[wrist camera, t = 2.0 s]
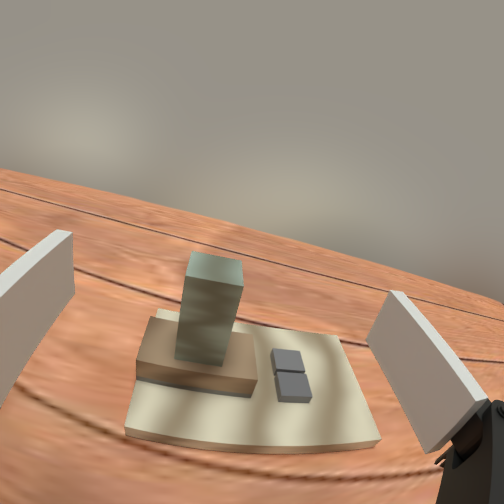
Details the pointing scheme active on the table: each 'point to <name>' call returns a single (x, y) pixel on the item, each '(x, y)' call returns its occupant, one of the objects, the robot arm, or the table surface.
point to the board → (262, 404)
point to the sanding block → (202, 335)
